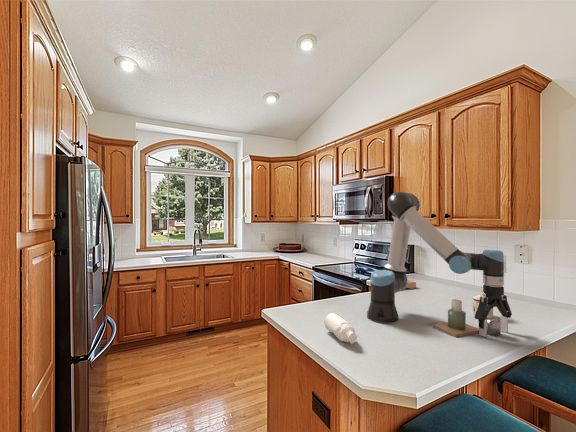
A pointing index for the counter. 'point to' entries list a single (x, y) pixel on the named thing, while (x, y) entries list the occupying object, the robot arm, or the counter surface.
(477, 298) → the teacup with lid
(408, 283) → the planter frame
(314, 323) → the counter surface
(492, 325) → the cap
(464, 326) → the brown board with cylinder
